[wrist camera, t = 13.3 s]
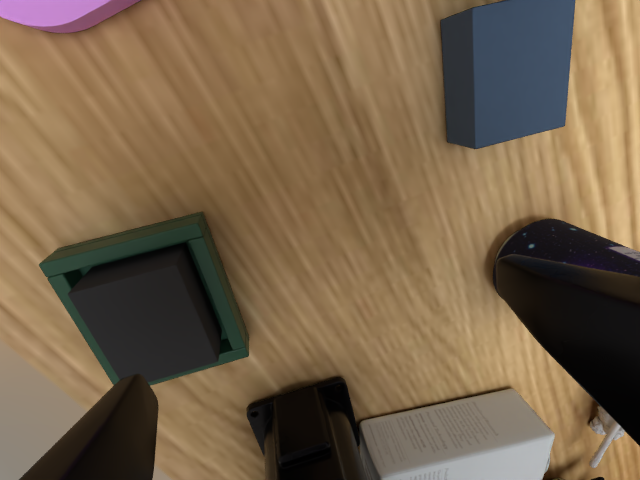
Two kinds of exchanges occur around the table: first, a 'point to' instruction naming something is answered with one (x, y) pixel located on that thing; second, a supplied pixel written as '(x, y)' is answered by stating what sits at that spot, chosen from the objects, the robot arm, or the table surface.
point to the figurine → (604, 426)
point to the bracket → (61, 13)
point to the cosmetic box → (458, 441)
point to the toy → (600, 479)
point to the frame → (191, 229)
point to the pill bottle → (569, 248)
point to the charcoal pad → (150, 314)
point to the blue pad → (506, 70)
